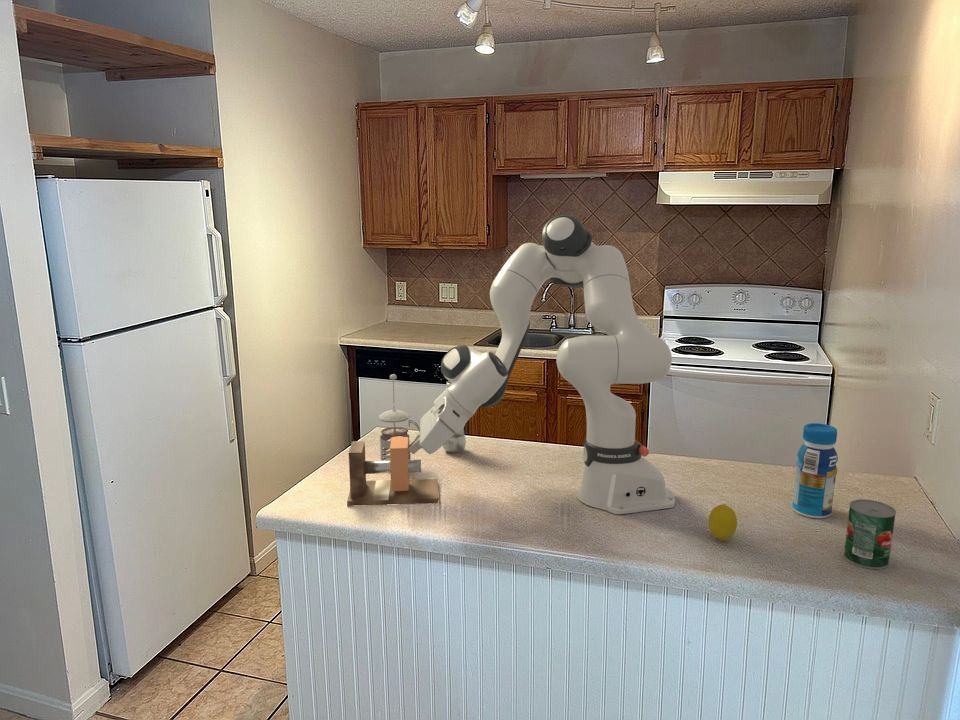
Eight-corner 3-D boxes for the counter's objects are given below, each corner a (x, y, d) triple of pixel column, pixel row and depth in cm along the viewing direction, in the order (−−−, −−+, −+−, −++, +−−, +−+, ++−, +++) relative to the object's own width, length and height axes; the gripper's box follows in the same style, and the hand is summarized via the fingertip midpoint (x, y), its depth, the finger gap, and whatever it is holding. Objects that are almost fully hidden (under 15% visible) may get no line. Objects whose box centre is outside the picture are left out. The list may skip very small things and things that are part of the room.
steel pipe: (421, 469, 172) (420, 457, 171) (421, 474, 169) (420, 462, 168) (358, 471, 170) (357, 459, 170) (356, 476, 167) (356, 463, 167)
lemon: (720, 548, 144) (723, 511, 142) (701, 537, 149) (704, 501, 147) (741, 543, 146) (744, 507, 145) (722, 532, 151) (725, 497, 150)
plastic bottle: (463, 456, 196) (462, 385, 192) (439, 454, 198) (438, 384, 193) (468, 448, 203) (467, 380, 198) (445, 446, 204) (444, 378, 200)
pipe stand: (437, 483, 177) (437, 436, 175) (438, 503, 166) (437, 453, 163) (352, 485, 176) (350, 438, 173) (347, 506, 164) (345, 455, 162)
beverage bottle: (784, 504, 165) (792, 421, 161) (818, 503, 166) (828, 421, 161) (803, 520, 157) (812, 433, 152) (840, 519, 158) (850, 432, 153)
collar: (409, 477, 174) (408, 436, 172) (408, 490, 167) (407, 448, 164) (392, 478, 174) (391, 437, 172) (391, 491, 166) (390, 448, 164)
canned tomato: (840, 547, 145) (846, 496, 142) (883, 553, 142) (890, 501, 140) (847, 566, 137) (854, 513, 135) (893, 572, 135) (900, 518, 133)
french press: (377, 460, 193) (374, 370, 188) (420, 458, 195) (418, 369, 189) (376, 473, 184) (373, 379, 178) (421, 471, 185) (419, 378, 180)
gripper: (441, 389, 177) (402, 427, 179) (443, 413, 157) (399, 456, 159) (459, 406, 178) (420, 444, 180) (463, 432, 158) (420, 474, 160)
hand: (410, 450), depth 169 cm, fingers closed
